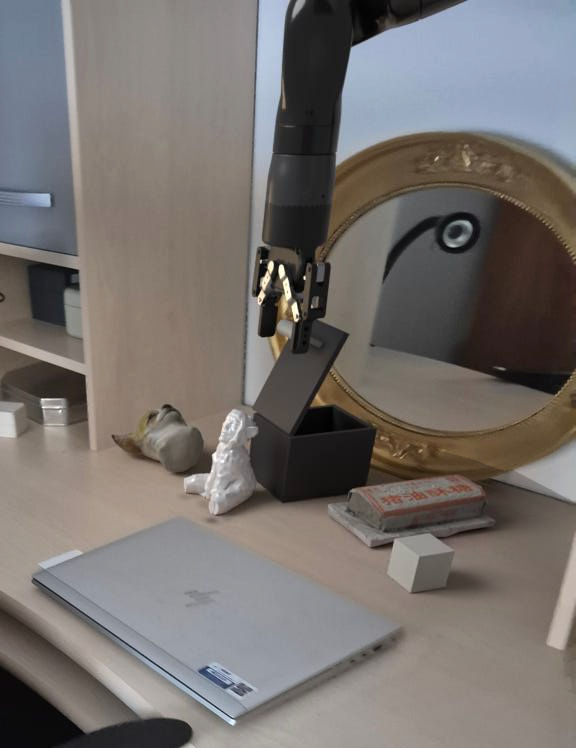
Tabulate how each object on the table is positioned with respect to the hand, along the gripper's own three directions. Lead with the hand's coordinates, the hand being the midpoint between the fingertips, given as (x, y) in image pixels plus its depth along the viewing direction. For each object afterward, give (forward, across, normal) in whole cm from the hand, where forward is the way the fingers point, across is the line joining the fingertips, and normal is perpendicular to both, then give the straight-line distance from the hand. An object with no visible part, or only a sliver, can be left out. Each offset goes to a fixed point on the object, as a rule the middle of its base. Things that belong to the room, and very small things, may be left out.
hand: (281, 344), depth 104 cm
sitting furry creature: (+19, -2, +7) cm, 21 cm away
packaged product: (+19, -16, -12) cm, 28 cm away
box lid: (+4, 0, -3) cm, 5 cm away
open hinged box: (+19, 0, -6) cm, 20 cm away
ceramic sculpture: (+19, +14, +10) cm, 26 cm away
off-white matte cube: (+19, -28, -4) cm, 35 cm away
